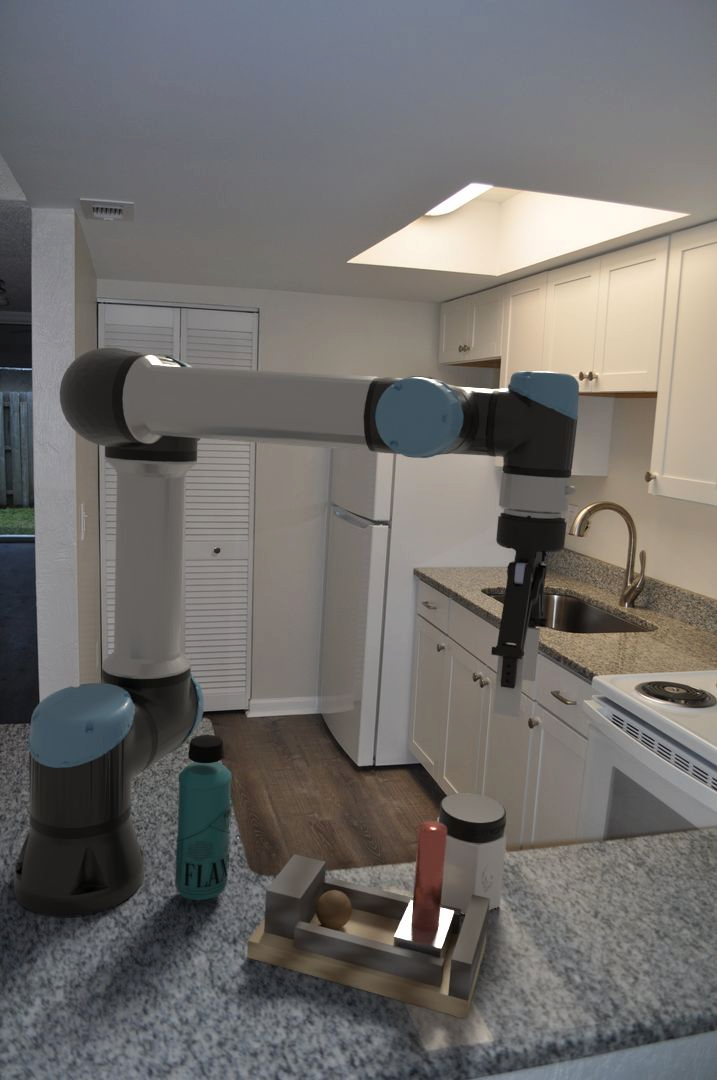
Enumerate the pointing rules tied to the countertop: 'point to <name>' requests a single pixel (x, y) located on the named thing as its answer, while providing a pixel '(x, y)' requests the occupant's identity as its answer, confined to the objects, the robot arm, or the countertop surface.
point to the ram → (427, 897)
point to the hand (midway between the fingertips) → (515, 695)
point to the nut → (333, 909)
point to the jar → (472, 849)
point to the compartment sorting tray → (367, 941)
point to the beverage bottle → (203, 821)
